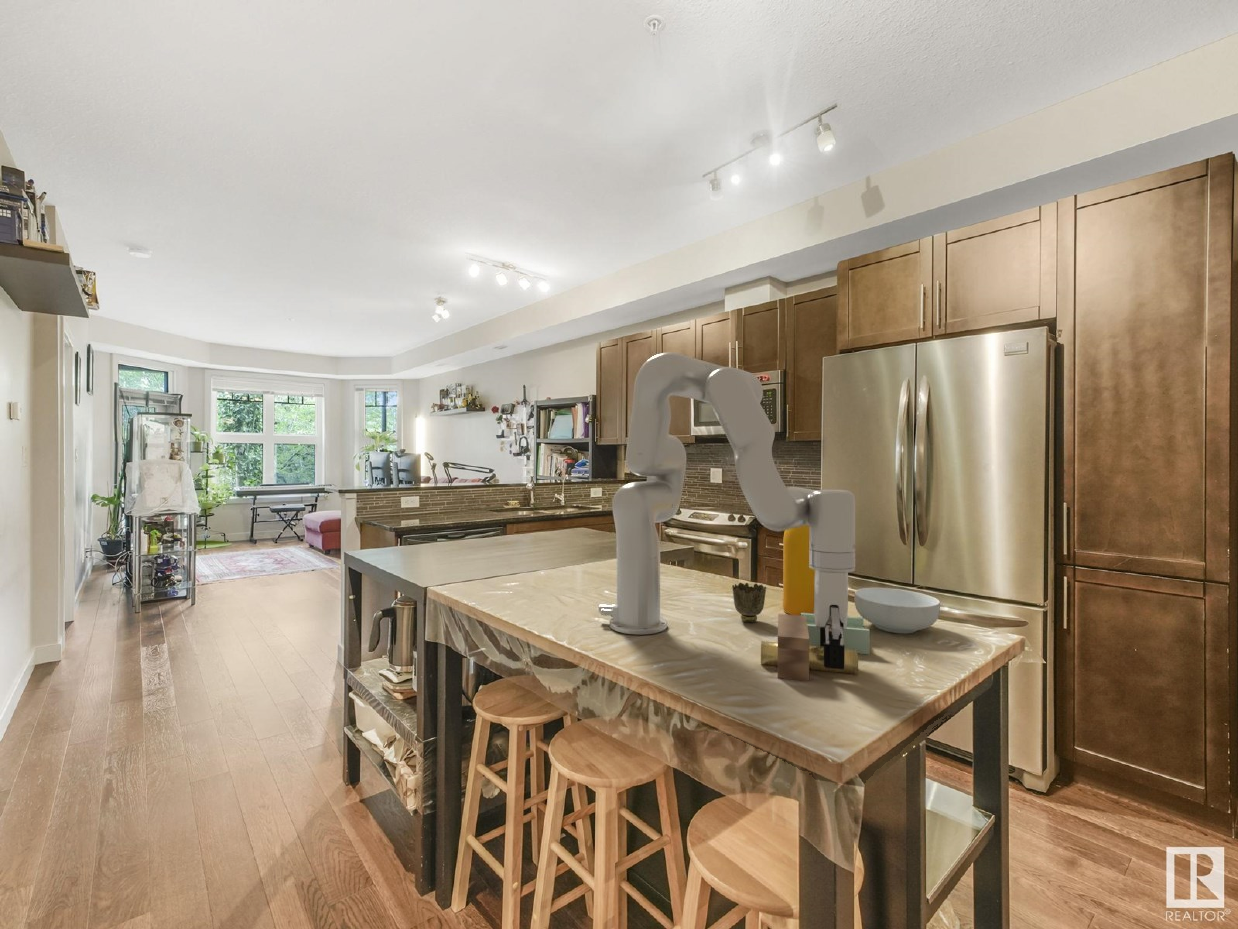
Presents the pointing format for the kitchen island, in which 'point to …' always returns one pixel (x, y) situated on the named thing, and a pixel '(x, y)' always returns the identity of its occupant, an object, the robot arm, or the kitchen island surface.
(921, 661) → the kitchen island surface
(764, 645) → the axle
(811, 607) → the beer bottle
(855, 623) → the v block
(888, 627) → the cereal bowl
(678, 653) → the kitchen island surface
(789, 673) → the beam
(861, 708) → the kitchen island surface
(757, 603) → the cup
